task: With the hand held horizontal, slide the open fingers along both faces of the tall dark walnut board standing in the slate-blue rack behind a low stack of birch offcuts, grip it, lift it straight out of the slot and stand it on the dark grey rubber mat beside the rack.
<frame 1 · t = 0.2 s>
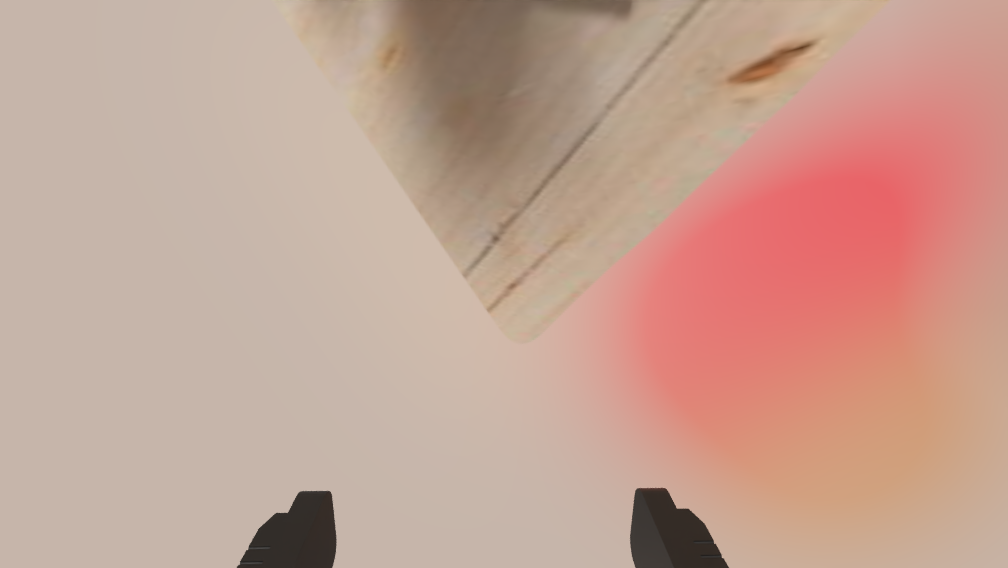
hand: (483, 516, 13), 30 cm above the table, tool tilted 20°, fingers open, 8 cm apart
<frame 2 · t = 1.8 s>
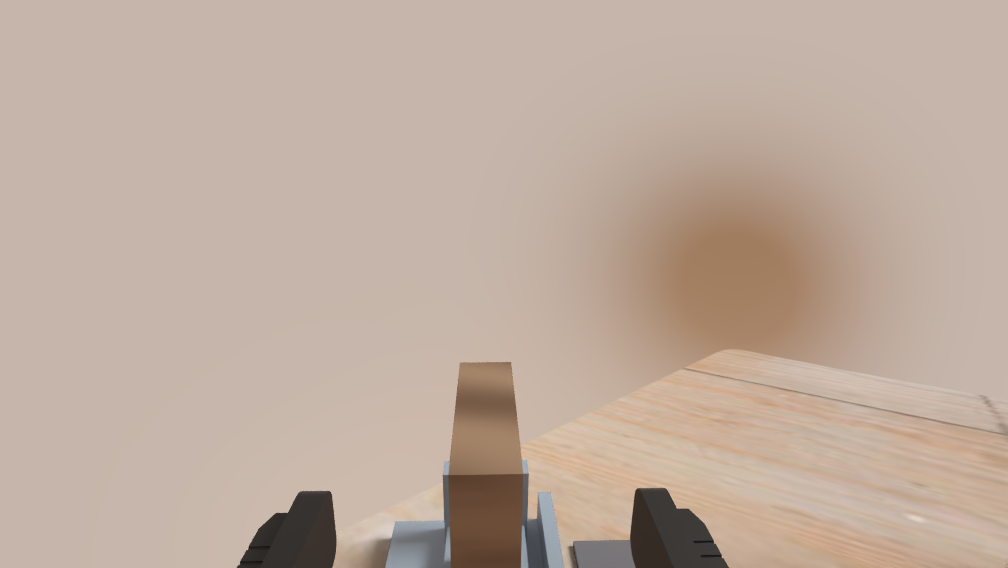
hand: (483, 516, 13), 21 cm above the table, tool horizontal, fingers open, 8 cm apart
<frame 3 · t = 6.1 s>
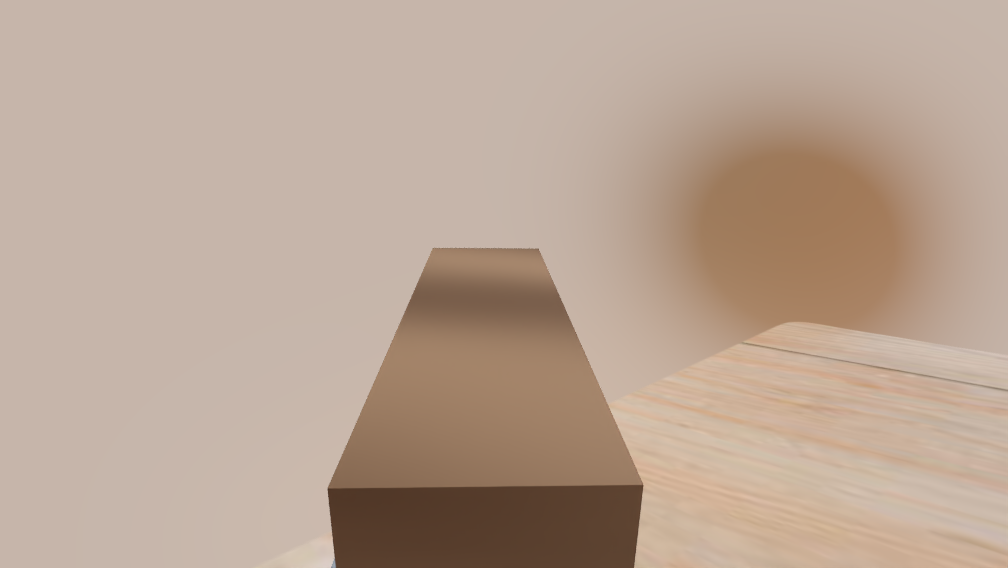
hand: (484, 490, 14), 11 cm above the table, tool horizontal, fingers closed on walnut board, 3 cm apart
when the fingers open (11 cm above the table, at t = 11.1 s): walnut board stays where it is, resting on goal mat.
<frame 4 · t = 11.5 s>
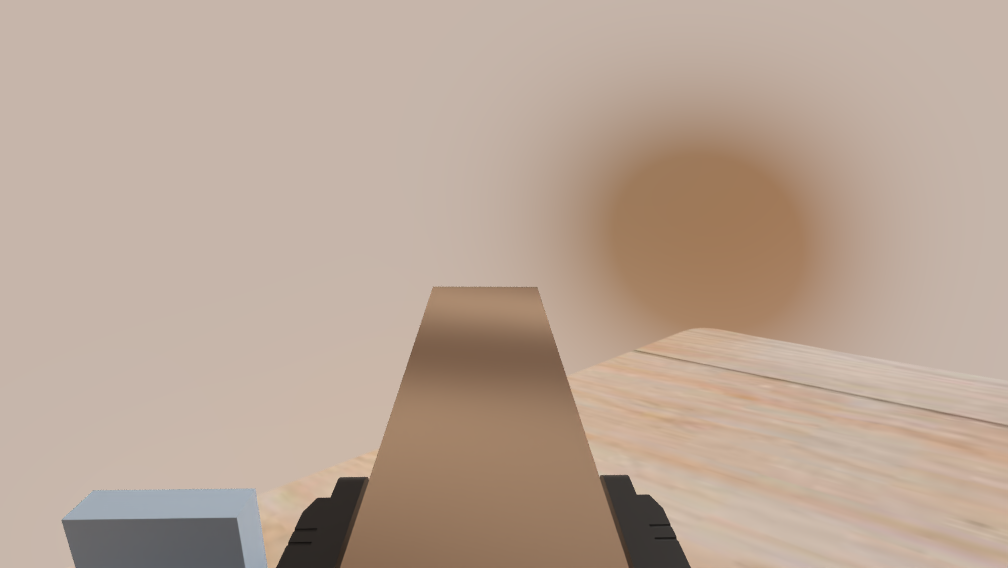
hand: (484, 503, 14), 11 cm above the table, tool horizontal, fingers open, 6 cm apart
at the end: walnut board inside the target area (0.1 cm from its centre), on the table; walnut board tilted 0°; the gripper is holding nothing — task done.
